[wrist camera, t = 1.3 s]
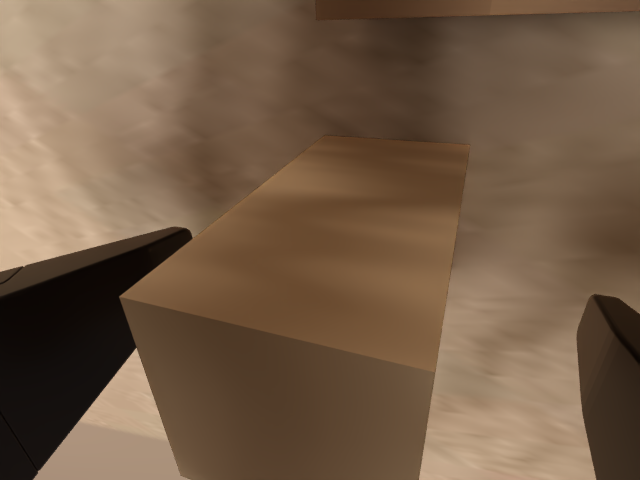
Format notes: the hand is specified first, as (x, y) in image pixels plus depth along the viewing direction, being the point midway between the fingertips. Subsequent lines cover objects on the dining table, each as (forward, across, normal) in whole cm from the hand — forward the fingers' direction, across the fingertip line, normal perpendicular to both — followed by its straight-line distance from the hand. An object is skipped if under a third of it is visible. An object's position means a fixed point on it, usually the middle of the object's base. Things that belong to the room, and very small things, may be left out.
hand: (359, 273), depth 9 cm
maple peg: (+4, 0, 0) cm, 4 cm away
